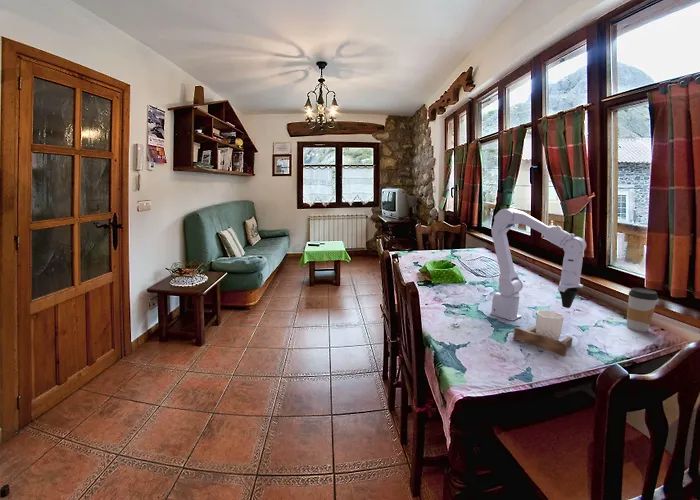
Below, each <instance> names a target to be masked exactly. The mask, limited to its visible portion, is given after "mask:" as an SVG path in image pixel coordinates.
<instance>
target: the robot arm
mask: <svg viewBox="0 0 700 500" xmlns="http://www.w3.org/2000/svg"><path fill="white" fill-rule="evenodd" d="M493 219H494V221H493V223H492V224H493V225H492V227H491V237H492V241H493V245H494V250H495V254H496V259H497V262H498V263H497V264H498V268H499V272H500V274H499V277H498V281H499V282H498V287H497V290H498V291H497V292H495V293H494V294H493V297H492V303H491V312H490V313H489V314H490V315H493V316H497V317H499V318H502V319H506V320H509V321H512V322H513V321H514V320H515V321H516V320H517V319H519V318H521V317H522V315H521V314H519V304H520V297H521V296H520V292H521V291H522V289H523V285H524V284H523V282H522V280H521V279H520V277H519V274H518V273H517V272H516V270H515V267H514V263H513V259H512V257H513V256H512V254H511V253H512V252H511V249H510V245H509V240H508V236H507V233H508V231H510V229H511V228H512V227H513V226H514V225H524V226H526V227H529V228H530V229H532V230H534V231H537V232H538V233H541V234H542V235H543V238H544V239H545V240H546V241H548V242H550V243H551V244H553V245H555V246H557V247H559V248H560V249H562V250H563V251H564V256H563V260H562V267H561V275H560V280H559V285H558V287H557V291H558V292H559V295H560V298H561V299H560V300H561V305H562V307H563V308H566V309H570V308H571V306H573V305H572V304H573V302H574V300H575V298H576V296H577V295H578V294H579V292H580V290H581V289H580V288H584V284H581V275H582V268H583V261H584V260H583V258H584V251H585V250H586V248H587V242H586V240H585V239H584V238H582V236H575V235H576V234H575V233H569V231H566V230H564V229H562V226H560V225H557V226H556V225H551V226H549V225H547V224H545V223H543V222H542V221H540V220H539V219H537V218H535V217H533V216H531V215H530V214H528V213H526V212H525V211H522V210H519V209H517V208H513V207H511V208H503V209H500V210H498V212H496V214H495V215H494V216H493Z"/></svg>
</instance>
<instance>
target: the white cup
mask: <svg viewBox="0 0 700 500" xmlns="http://www.w3.org/2000/svg"><path fill="white" fill-rule="evenodd" d="M564 319H565V316H564V314H562V313H560V312H557V311H554V310H553V311H552V310H547V309H540V310H537V311H536V320H535V326H536V334H539V335H542V336H545V337H548V338H552V339H555V340H558V341H560V337H561V334H562V333H561V332H562V328H563V324H564Z"/></svg>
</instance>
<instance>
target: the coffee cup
mask: <svg viewBox="0 0 700 500" xmlns="http://www.w3.org/2000/svg"><path fill="white" fill-rule="evenodd" d="M658 297H659V296H658V292H657V291H655V290H651V289H649V288H641V287H632V288H631V289H630V290H629V291H628V302H627V313H626V326H627V327H626V328H628V329H629V330H632V331H636V332H642V333H646V332H648V331H649V330H650V325H651V323H652V319H653V316H654V312H655V308H656V304H657V301H658V300H659V298H658Z"/></svg>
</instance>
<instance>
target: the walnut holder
mask: <svg viewBox="0 0 700 500" xmlns="http://www.w3.org/2000/svg"><path fill="white" fill-rule="evenodd" d="M513 339H514V340H517V341H519V342H523V343H525V344H528V345H530V346H533V347H535V348H539V349H542V350H544V351H546V352H547V351H548V352H550V353H553V354H555V355H557V356H558V355H559V356H562V357H566V356H567V350H568V349H567V348H569V347H571V346H572V344H573V337H572V336H567V337H566V338H564V339H563V340H561V341H560V340H559V341H558V340H555V339H552V338H548V337H545V336H542V335H539V334H536V325H533V326H532V327H529V328H527V329H524V328H520V327H517V326H515V327H514V330H513Z"/></svg>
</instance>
